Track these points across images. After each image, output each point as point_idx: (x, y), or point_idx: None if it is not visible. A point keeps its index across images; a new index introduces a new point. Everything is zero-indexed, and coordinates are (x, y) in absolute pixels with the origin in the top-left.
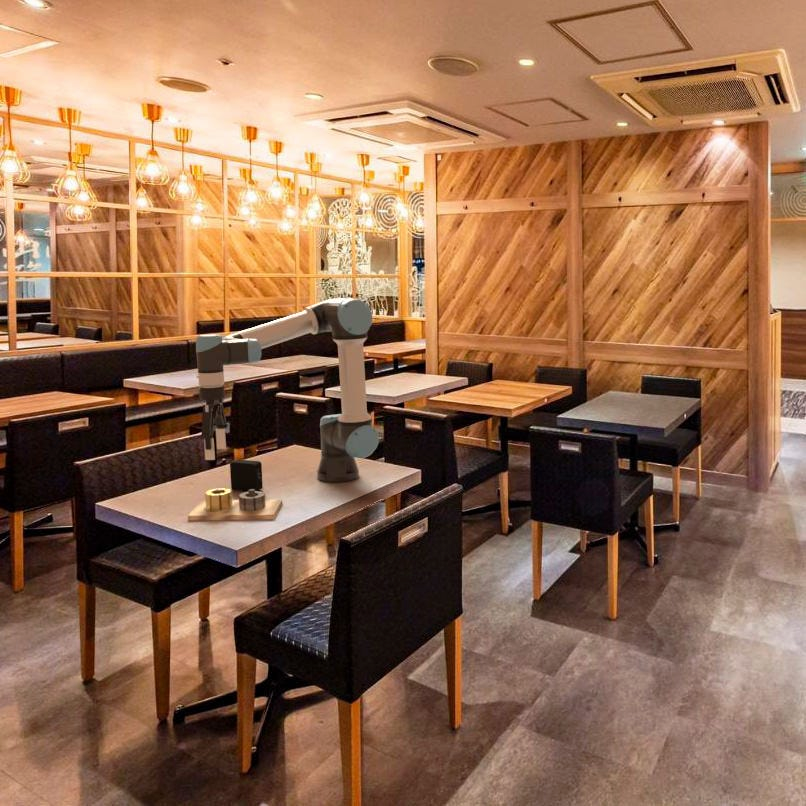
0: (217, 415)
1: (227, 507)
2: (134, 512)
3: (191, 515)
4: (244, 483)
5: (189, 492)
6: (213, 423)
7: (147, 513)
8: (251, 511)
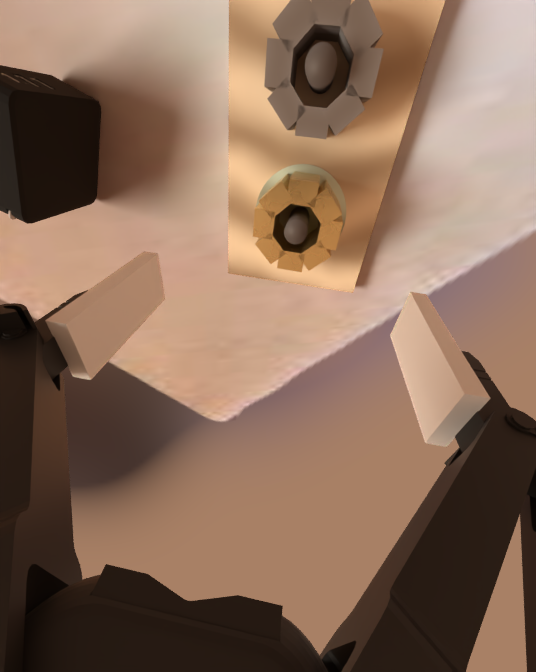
0: (48, 523)
1: (328, 184)
2: (269, 382)
3: (354, 284)
4: (80, 154)
5: None
6: (471, 550)
7: (279, 364)
8: (378, 72)
